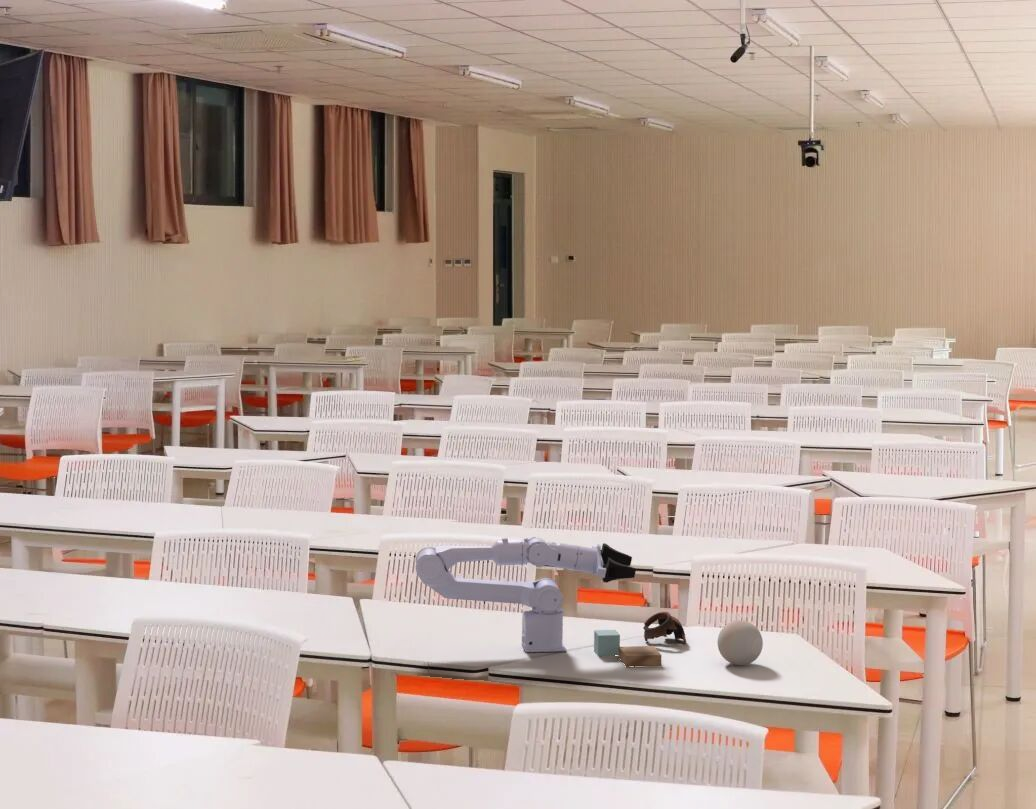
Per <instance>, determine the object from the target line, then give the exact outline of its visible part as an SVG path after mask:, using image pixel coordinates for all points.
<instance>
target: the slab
mask: <svg viewBox="0 0 1036 809" xmlns="http://www.w3.org/2000/svg"><path fill="white" fill-rule="evenodd" d="M619 658H620V659H621V660H620V659H619ZM618 659H619V660H620V661H622V662H623V663H624V664H625V665H624V664H623V663H622V662H621V663H622V664H623V665H624V667H625V666H626V667H625V668H630V667H629V666H634V667H633V668H636V667H635V666H661V667H662V654H661V653H660V652H659V651H658V650H657V648H656V647H655V646H654V645H638V646H620V647H619V656H618Z"/></svg>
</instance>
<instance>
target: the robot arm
mask: <svg viewBox="0 0 1036 809" xmlns="http://www.w3.org/2000/svg"><path fill="white" fill-rule="evenodd" d="M632 560H633V557H632V556H630V555H629V554H626V553H623V552H621V551H619V550H616V549H614V548H613V547H611V545H609V544H607V543H606V542H605V543H604V542H603V543H602V545H601V544H600V543H597V544H596V546H594V545H592V547H586V546H582V545H576V544H575V545H574V544H568V543H564V542H554V541H551V542H550V541H548V542H547V541H546V540H544V539H542V538H540V537H536V536H533V537H530V538H529V537H524V538H523V539H508V537H501V539H500V540H499V539H498V540H496V541H495V542H494V543H493V544H492V545H452V544H451V545H437V546H435V547H433V546H426V547H423V548H422V549H420V550H419V551H418V552H417V554H416V557H415V571H416V574H417V576H418V578H419V580H421V582H422V583H423V585H425V586H428V587H429V588H430V589H431V590H433V591H434V592H435V593H437V594H439V595H440V596H441V597H442V598H444V599H447V600H461V601H462V600H463V601H474V602H475V601H476V602H489V603H491V602H492V603H504V604H505V603H506V604H516V605H517V604H519V605H523V606H526V607H528V608H531V609H530V610H524V611H523V612H522V617H521V618H522V619H521V621H522V623H521V646H522V648H523V649H524V651H525V652H526V653H545V652H547V653H549V652H550V653H551V652H566V651H567V648H566V646H565V645H564V643H563V635H564V634H563V632H564V630H563V628H564V627H563V626H564V612H563V611H564V608H563V607H562V605H563V602H564V596H563V593H562V591H561V590H560V586H559V585H558V583H557V582H556V581H555V580H554V579H552V578H548V577H544V578H541V579H538V580H535V581H534V580H528V581H523V582H519V581H508V580H507V581H505V580H493V579H481V578H479V579H478V578H466V577H455V576H454V574H453V573H452V572H451V571H450V569H452V567H454V566H455V565H456V564H458V563H465V562H466V563H467V562H479V561H480V562H481V561H492V562H494V563H495V564H496V565H497V566H510V565H511V566H515V565H516V566H517V565H519V566H520V565H522V566H523V565H526V564H531V565H532V566H535V568H542V567H545V566H549V567H554V568H559V569H565V570H571V571H577V572H583V573H589V574H592V575H595V576H596V577H597V578H602V583H609V582H612V581H616V580H623V579H625V580H626V579H634V578H635V576H636V571H637V569H636V568H635V567H632V566H631V565H632Z"/></svg>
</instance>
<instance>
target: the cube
mask: <svg viewBox="0 0 1036 809" xmlns="http://www.w3.org/2000/svg"><path fill="white" fill-rule="evenodd" d="M593 631H594V634H593V638H594V639H593V652H594V653H595V654H597V655H598V656H610V657H616V656H615V655H619V647H621V645H620V644H621V635H620V633H619V632H618V631H617V630H616V629H595V630H593ZM597 655H596V656H597ZM598 656H597V657H598Z"/></svg>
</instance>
